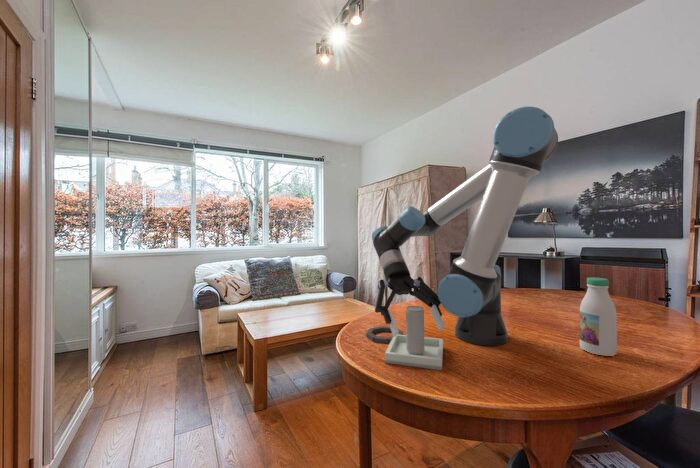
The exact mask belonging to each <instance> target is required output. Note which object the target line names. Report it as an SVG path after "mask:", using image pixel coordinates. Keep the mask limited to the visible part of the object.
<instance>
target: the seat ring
mask: <svg viewBox="0 0 700 468" xmlns="http://www.w3.org/2000/svg"><path fill="white" fill-rule="evenodd" d="M398 330H399V333H398V334H400V335H404V332H403V331H402V330H400V329H399V328H398ZM381 332H386V333H387V332H388V333H392V331H391V328H390V326H386V325H385V326H383V325H382V326H380V325H379V326H375V327H370V328H369V329H368V330H367V331H366V334H365V335H366V338H367V339H369V340H370V341H371V342H374V343H383V344H390V342H391V340H392V338H393V335H392V336H388V337H387V336H386V337H385V336H376V335H375V334H376V333H381Z"/></svg>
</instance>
